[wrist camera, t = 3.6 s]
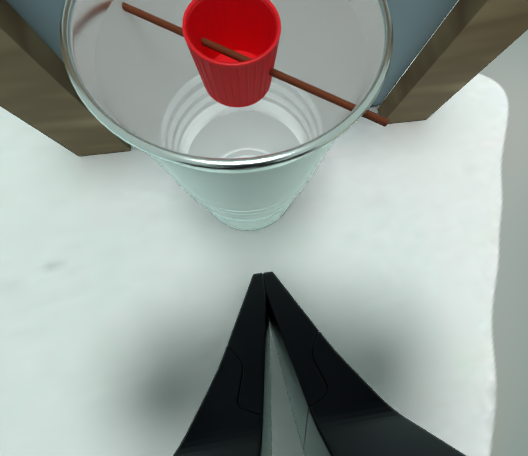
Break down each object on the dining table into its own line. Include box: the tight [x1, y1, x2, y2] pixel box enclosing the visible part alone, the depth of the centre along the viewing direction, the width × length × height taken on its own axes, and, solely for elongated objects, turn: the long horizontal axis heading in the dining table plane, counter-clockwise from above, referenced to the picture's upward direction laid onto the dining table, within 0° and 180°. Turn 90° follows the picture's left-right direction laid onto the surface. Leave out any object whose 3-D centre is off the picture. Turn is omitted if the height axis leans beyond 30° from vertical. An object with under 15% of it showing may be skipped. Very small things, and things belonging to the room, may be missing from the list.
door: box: [6, 0, 458, 105], centre depth 12 cm, size 2×21×14 cm, turn 98°
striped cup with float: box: [60, 0, 393, 230], centre depth 11 cm, size 10×8×12 cm
